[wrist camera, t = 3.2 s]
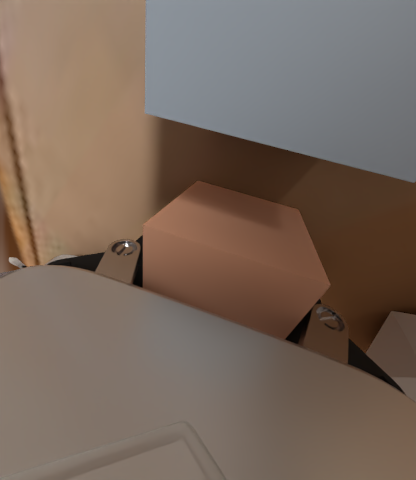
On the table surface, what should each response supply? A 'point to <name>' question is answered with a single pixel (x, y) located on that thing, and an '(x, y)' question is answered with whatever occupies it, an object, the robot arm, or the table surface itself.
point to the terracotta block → (234, 258)
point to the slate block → (291, 75)
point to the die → (397, 350)
